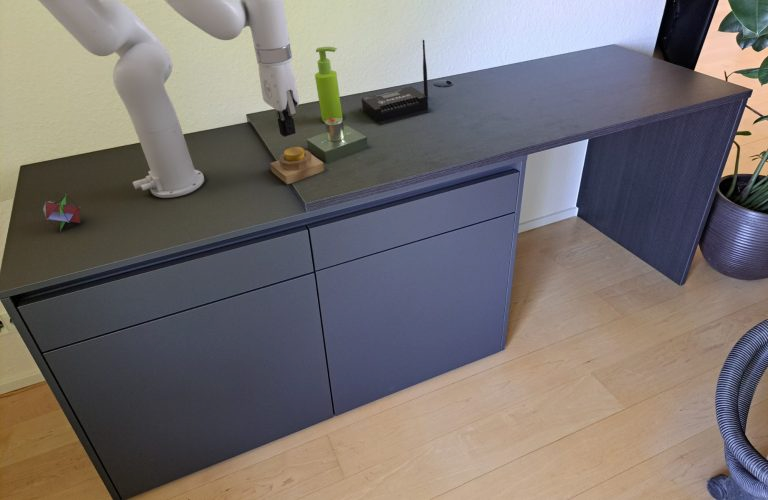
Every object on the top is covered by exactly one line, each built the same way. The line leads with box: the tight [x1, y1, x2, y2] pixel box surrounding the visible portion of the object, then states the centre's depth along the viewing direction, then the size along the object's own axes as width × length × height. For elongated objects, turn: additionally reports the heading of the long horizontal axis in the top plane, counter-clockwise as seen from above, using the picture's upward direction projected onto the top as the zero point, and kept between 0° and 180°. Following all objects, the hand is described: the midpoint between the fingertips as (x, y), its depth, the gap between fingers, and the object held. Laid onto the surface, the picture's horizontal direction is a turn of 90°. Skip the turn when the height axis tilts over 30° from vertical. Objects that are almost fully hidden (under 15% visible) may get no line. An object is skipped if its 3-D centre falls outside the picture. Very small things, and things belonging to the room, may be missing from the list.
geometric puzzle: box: [42, 194, 81, 232], centre depth 122 cm, size 7×7×8 cm
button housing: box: [269, 149, 325, 185], centre depth 134 cm, size 10×9×4 cm
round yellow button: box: [283, 146, 305, 161], centre depth 132 cm, size 5×5×2 cm
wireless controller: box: [360, 39, 431, 126], centre depth 156 cm, size 20×14×17 cm
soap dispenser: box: [314, 46, 343, 123], centre depth 154 cm, size 6×7×20 cm
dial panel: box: [306, 125, 369, 163], centre depth 142 cm, size 12×10×3 cm
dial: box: [324, 117, 345, 141], centre depth 140 cm, size 4×4×5 cm
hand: (288, 133), depth 129 cm, fingers closed
